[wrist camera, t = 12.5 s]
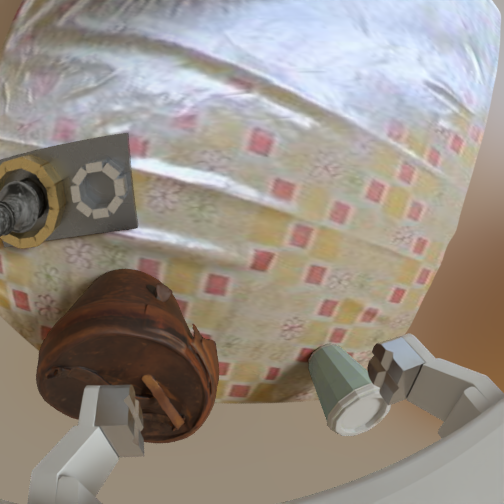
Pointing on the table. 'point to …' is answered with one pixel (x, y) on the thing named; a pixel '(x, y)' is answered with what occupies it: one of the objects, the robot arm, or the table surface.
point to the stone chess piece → (21, 205)
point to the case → (132, 355)
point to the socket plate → (76, 188)
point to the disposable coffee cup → (345, 391)
